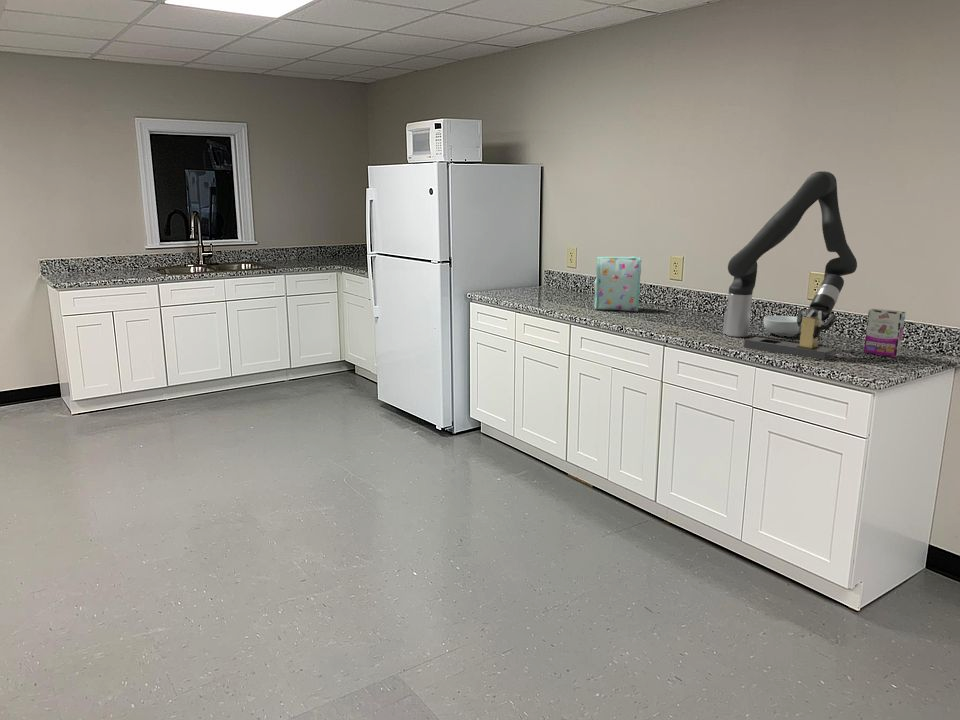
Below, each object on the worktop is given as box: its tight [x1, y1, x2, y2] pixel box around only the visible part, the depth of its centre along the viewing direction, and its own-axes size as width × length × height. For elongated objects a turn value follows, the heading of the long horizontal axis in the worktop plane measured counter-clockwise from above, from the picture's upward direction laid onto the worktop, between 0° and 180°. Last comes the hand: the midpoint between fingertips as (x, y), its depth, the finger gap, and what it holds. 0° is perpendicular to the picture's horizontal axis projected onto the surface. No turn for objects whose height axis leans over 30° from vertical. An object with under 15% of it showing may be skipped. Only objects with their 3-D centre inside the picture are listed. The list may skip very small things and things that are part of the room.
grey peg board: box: [743, 336, 837, 361], centre depth 271 cm, size 30×9×3 cm, turn 43°
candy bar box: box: [863, 308, 906, 358], centre depth 269 cm, size 11×5×16 cm, turn 45°
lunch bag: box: [593, 255, 642, 312], centre depth 371 cm, size 23×16×27 cm
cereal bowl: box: [763, 315, 800, 338], centre depth 307 cm, size 17×17×7 cm
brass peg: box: [798, 315, 820, 350], centre depth 265 cm, size 4×4×12 cm
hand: (807, 335), depth 264 cm, fingers closed on brass peg, 4 cm apart
